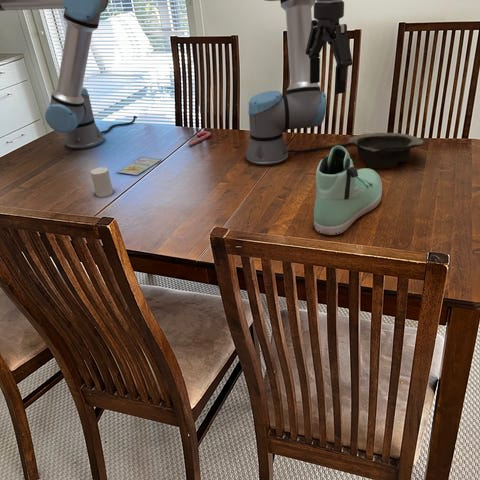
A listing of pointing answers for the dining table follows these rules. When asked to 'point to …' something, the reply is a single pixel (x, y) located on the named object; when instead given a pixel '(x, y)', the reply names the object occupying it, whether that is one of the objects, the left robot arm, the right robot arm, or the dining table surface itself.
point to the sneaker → (343, 192)
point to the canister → (102, 182)
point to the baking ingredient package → (138, 166)
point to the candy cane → (206, 135)
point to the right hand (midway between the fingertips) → (326, 87)
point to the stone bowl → (384, 148)
